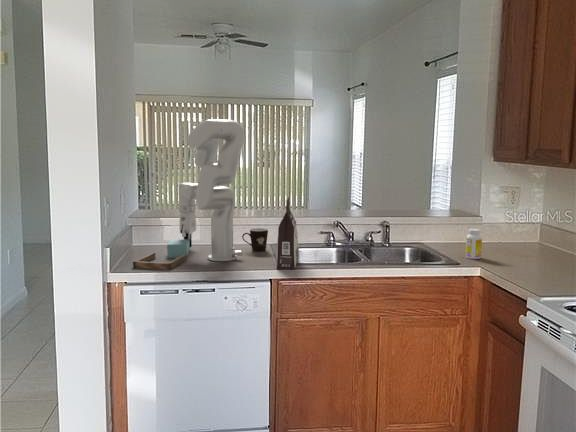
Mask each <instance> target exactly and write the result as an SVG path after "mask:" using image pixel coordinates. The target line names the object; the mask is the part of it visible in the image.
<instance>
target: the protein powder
mask: <svg viewBox="0 0 576 432" xmlns="http://www.w3.org/2000/svg"><path fill="white" fill-rule="evenodd" d="M277 229H278V231H277V241H276V251H275V254H276V255H275V257H276V258H275V260H276V261H275V262H276V264H275V265H276V270H296V267H297V262H298V258H299V235H298V229H297V221H296V219H295V218H294V215H293V213H292V210H291V208H290V196H288V198H287V200H286V205H285V213H284V215H283V217H282V219H281V221H280V222H279V225H278V228H277Z"/></svg>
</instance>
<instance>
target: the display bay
mask: <svg viewBox="0 0 576 432" xmlns="http://www.w3.org/2000/svg"><path fill="white" fill-rule="evenodd" d="M154 259H155V260H156V252H151V253H148V254H146V255H145V256H142V257H140V258H138V259H136V260H134V261H132V268H134V269H146V270H147V269H149V270H167V271H171V270H172V269H174V268H176V267H177V266H180V265H181V264H182V263H184V262H186V261H188V256H187V254H184V255H182V256H180V257H175V258H174V259H173V260H171V261H169V262H161V261H160V262H159V261H158V262H157V261H153V260H154Z"/></svg>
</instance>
